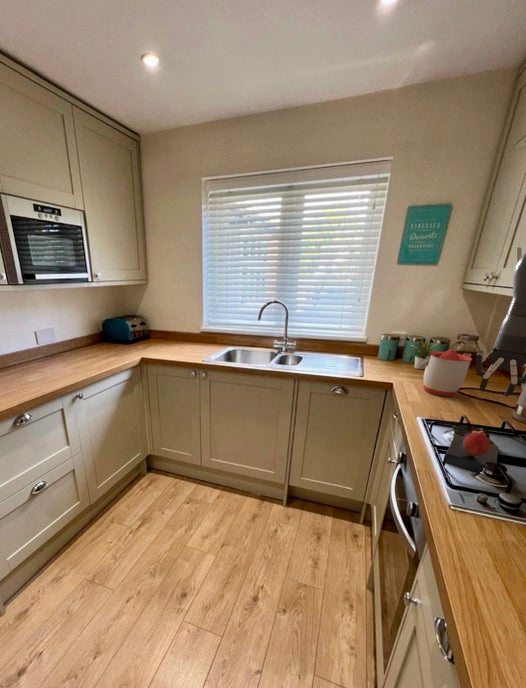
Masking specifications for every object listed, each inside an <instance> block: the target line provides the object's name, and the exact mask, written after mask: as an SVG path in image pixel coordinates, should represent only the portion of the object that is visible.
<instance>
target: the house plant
mask: <svg viewBox="0 0 526 688" xmlns="http://www.w3.org/2000/svg"><path fill="white" fill-rule="evenodd" d="M417 343H418V344H419V345H418V346H419V347H417V346H415V345H413V344H410V346H411V347H412V348H414V350H415V351H416V353H418V355H415V357H414V369H417V370H425V369H426V364H422V362H423V361H424V360H426V359H429V357H430V354H431V352H434V351H433V349H435V348H436V346H438V345H439V344H440V342H436V341H434V342H433V344H432V343H431V342H429V340H428V339H426V340H425V343H424V342H423V341H419V340H417ZM431 345H432V346H431Z"/></svg>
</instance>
